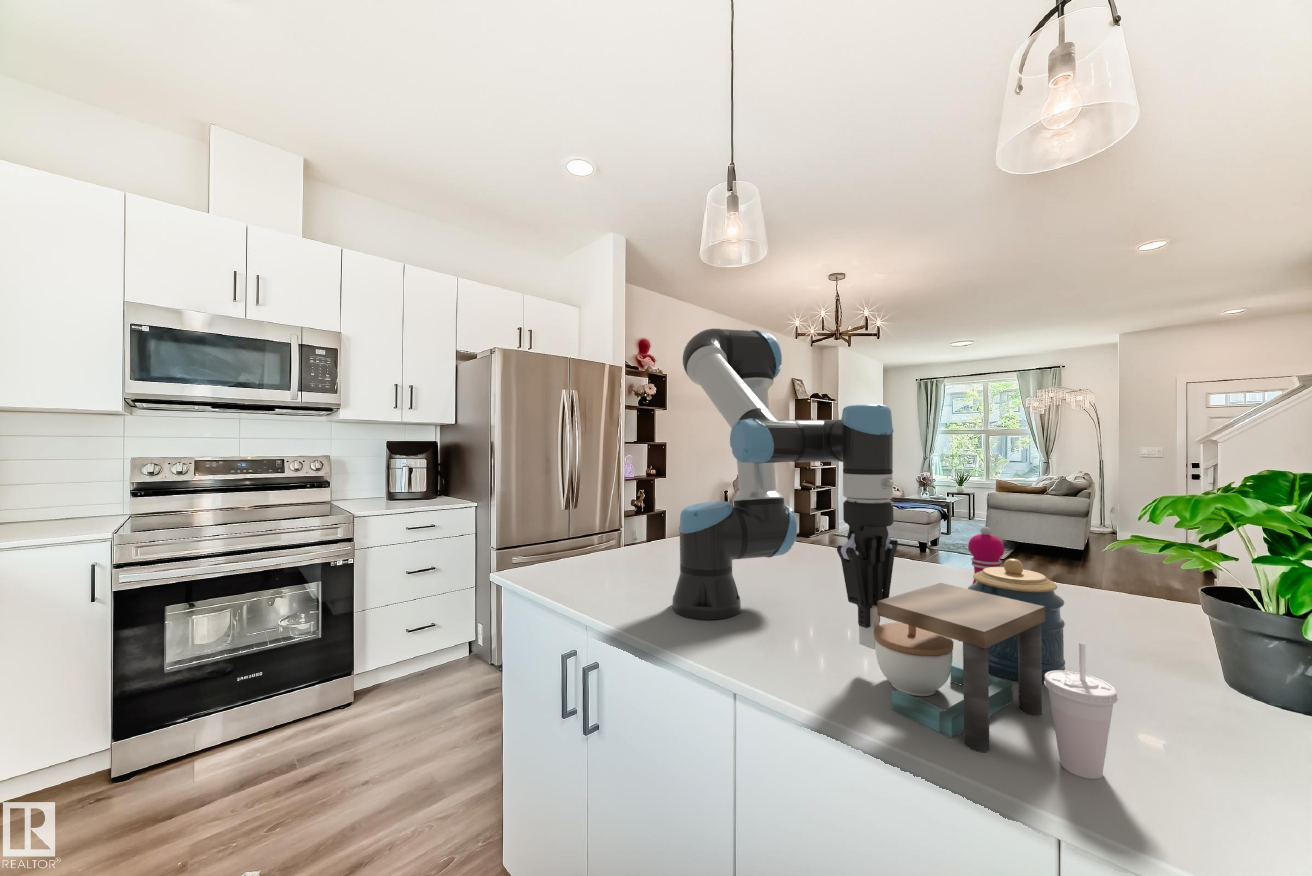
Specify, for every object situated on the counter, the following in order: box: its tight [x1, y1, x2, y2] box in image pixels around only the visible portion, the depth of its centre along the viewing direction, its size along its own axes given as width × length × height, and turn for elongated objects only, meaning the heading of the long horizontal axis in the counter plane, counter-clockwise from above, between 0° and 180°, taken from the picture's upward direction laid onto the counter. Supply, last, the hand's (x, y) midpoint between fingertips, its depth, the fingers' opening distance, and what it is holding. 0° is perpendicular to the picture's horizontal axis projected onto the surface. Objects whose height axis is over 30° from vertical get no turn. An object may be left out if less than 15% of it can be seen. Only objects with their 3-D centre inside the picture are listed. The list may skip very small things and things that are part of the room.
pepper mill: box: [967, 526, 1005, 585], centre depth 101 cm, size 7×7×20 cm
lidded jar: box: [874, 622, 954, 697], centre depth 77 cm, size 11×11×9 cm
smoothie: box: [1043, 641, 1119, 780], centre depth 57 cm, size 6×6×14 cm
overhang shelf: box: [877, 582, 1045, 753], centre depth 70 cm, size 14×17×14 cm
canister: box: [967, 558, 1066, 684], centre depth 83 cm, size 13×13×18 cm
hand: (869, 645), depth 82 cm, fingers closed
